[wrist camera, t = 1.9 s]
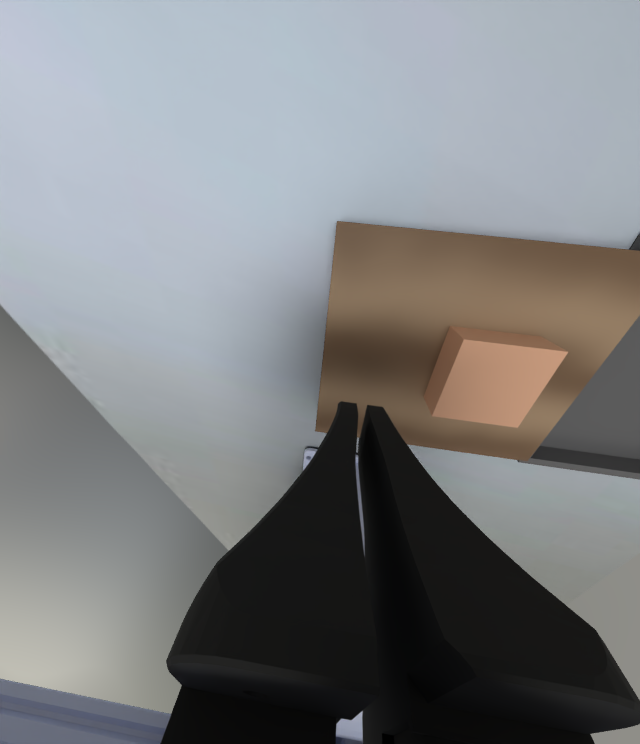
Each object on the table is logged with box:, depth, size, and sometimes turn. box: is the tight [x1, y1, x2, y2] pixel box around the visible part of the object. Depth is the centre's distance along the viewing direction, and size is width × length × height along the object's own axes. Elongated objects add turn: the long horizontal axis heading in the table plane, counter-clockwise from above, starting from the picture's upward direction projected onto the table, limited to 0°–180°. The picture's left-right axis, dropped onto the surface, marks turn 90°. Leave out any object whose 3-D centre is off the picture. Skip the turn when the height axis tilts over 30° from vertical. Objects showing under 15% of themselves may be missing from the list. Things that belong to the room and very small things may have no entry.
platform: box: [315, 221, 640, 461], centre depth 16 cm, size 14×16×3 cm
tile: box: [424, 326, 568, 428], centre depth 14 cm, size 5×5×2 cm
